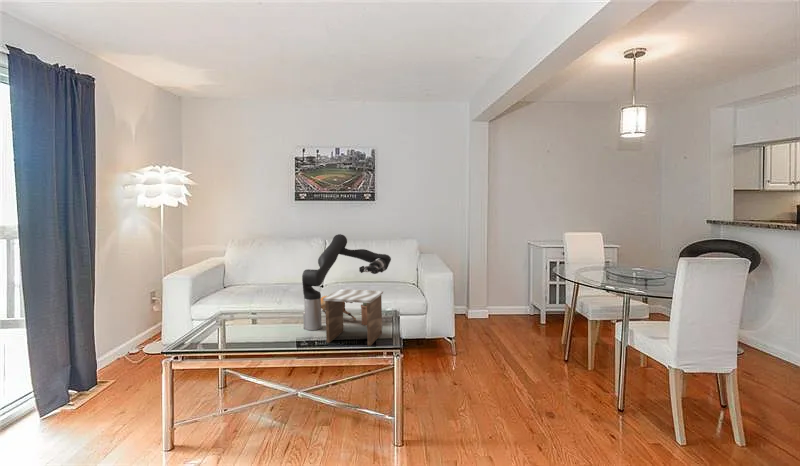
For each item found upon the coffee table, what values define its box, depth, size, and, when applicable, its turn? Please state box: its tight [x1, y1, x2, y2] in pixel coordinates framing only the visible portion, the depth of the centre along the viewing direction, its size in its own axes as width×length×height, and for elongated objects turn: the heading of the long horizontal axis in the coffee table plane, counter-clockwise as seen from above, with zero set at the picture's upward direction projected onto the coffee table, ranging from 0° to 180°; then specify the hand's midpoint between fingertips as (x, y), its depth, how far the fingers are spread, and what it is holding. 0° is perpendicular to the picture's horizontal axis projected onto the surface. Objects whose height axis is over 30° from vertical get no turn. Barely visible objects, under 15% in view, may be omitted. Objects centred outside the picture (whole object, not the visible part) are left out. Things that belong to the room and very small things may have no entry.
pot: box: [360, 303, 367, 326], centre depth 276 cm, size 7×7×15 cm
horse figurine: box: [321, 295, 357, 321], centre depth 283 cm, size 31×8×21 cm
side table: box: [323, 288, 384, 347], centre depth 249 cm, size 25×22×23 cm
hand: (368, 271), depth 277 cm, fingers open, 8 cm apart
